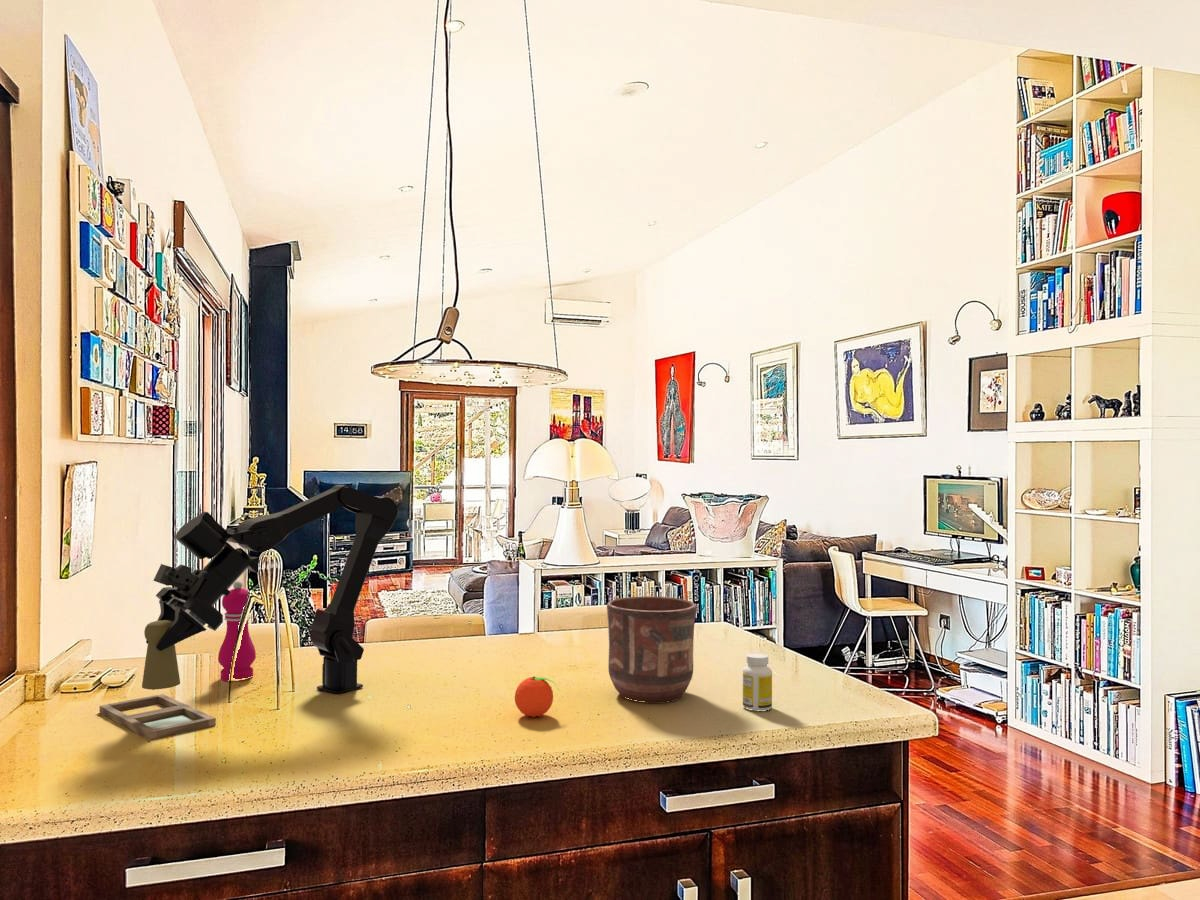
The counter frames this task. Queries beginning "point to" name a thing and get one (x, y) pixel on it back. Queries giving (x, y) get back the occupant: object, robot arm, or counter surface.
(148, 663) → the cork
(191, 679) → the counter surface
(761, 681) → the supplement bottle
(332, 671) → the robot arm
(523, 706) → the clementine
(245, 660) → the pepper mill
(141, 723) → the brown wooden frame
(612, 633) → the pottery
